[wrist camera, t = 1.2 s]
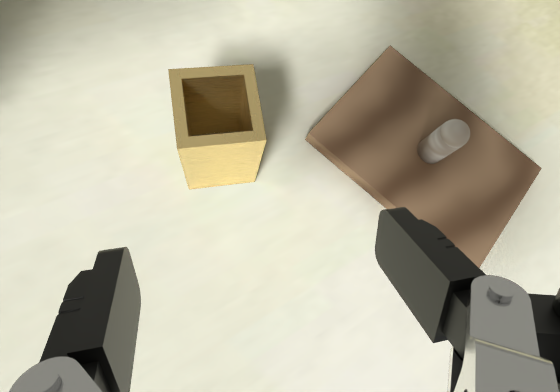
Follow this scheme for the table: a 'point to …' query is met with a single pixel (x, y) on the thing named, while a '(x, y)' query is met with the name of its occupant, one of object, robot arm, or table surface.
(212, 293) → the table surface
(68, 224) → the table surface
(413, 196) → the post board
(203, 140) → the wooden sleeve
